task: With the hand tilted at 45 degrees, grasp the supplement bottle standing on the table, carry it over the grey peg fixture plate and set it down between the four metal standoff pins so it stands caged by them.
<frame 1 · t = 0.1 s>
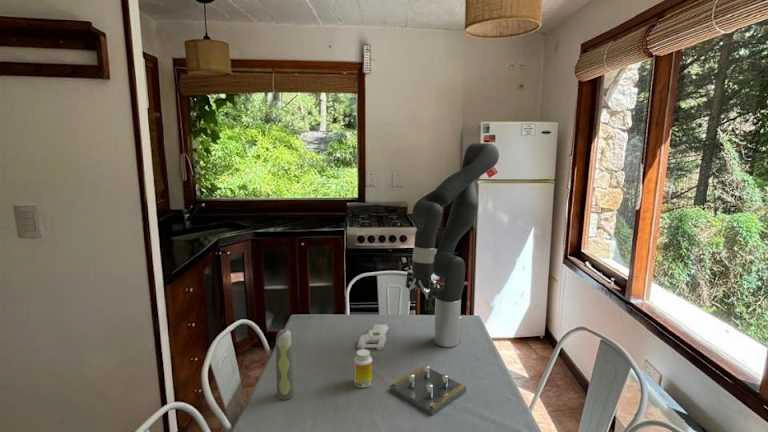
hand: (419, 305, 142), 17 cm above the table, tool pointing down, fingers open, 8 cm apart
tall green-filled container: (285, 396, 119), on the table
supplement bottle: (363, 383, 125), on the table
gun: (373, 341, 153), on the table
grey peg fixture plate: (427, 390, 122), on the table
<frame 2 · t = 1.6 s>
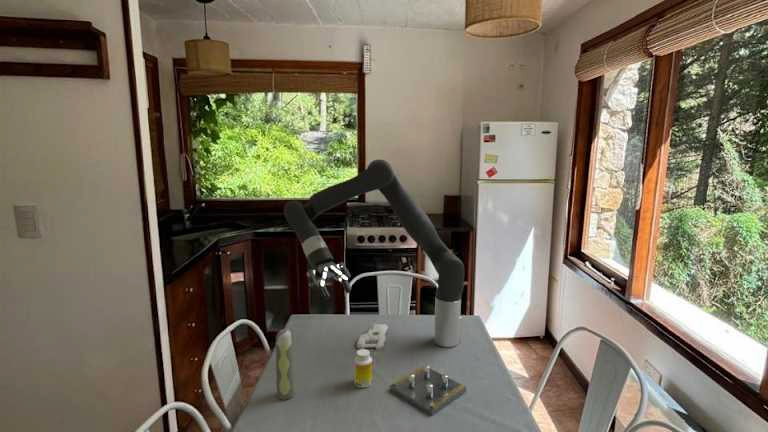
hand: (338, 295, 129), 25 cm above the table, tool tilted 45°, fingers open, 8 cm apart
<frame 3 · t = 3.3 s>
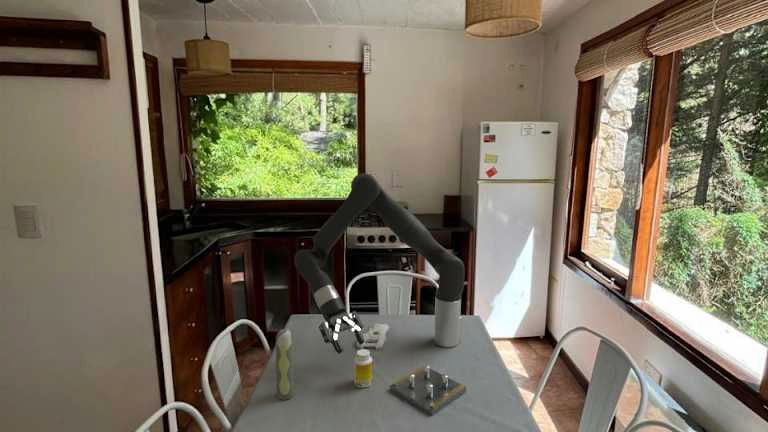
hand: (352, 347, 127), 10 cm above the table, tool tilted 45°, fingers open, 8 cm apart
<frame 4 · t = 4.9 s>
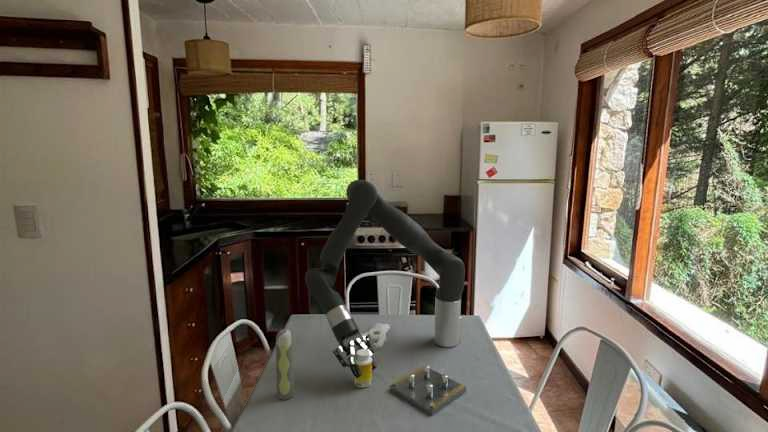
hand: (367, 372, 123), 4 cm above the table, tool tilted 45°, fingers closed on supplement bottle, 5 cm apart
supplement bottle: (363, 383, 125), on the table, touching gripper
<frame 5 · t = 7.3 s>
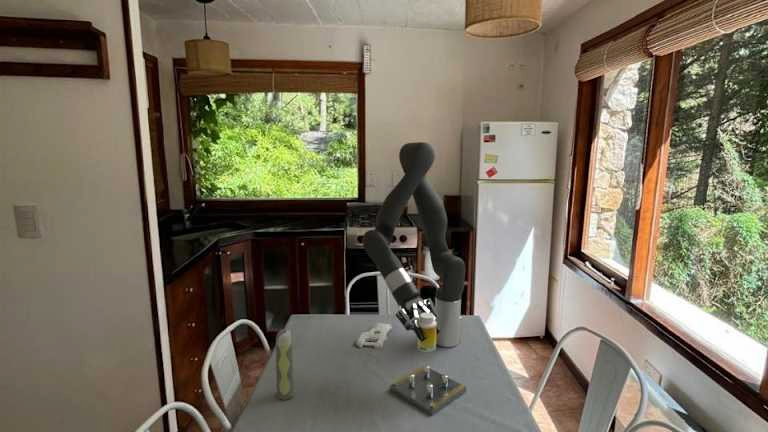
hand: (431, 336, 118), 18 cm above the table, tool tilted 45°, fingers closed on supplement bottle, 5 cm apart
supplement bottle: (426, 348, 120), point 13 cm above the table, touching gripper
when the fingers open (7 cm above the table, at t = 10.0 s): supplement bottle drops 1 cm, resting on grey peg fixture plate.
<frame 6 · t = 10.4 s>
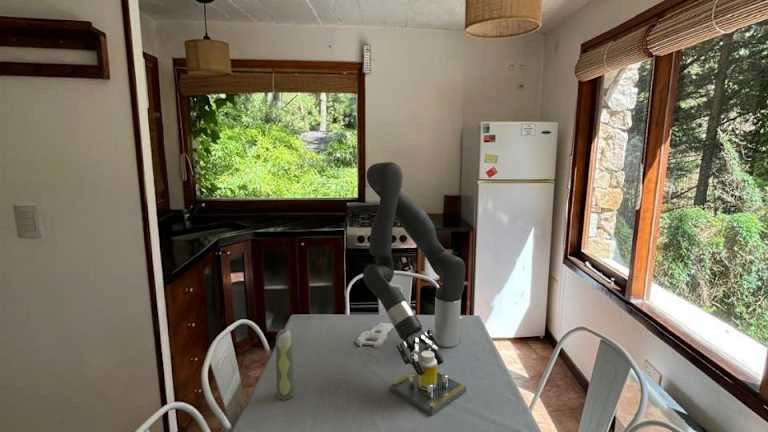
hand: (432, 368, 119), 8 cm above the table, tool tilted 45°, fingers open, 8 cm apart
supplement bottle: (427, 386, 121), point 1 cm above the table, touching grey peg fixture plate
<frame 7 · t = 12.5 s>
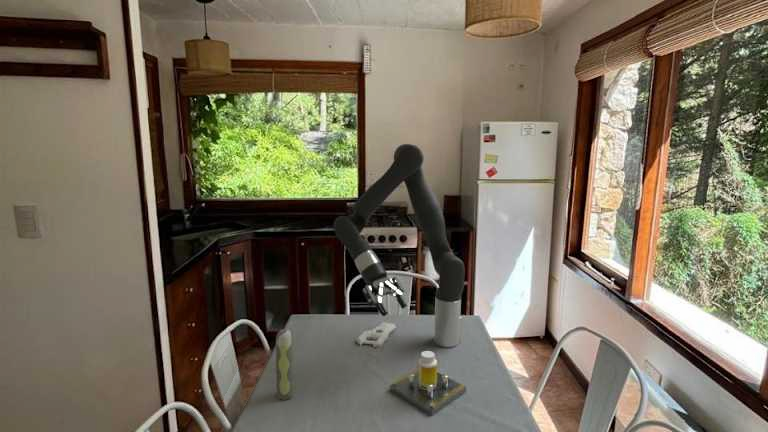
hand: (395, 310, 128), 21 cm above the table, tool tilted 45°, fingers open, 8 cm apart
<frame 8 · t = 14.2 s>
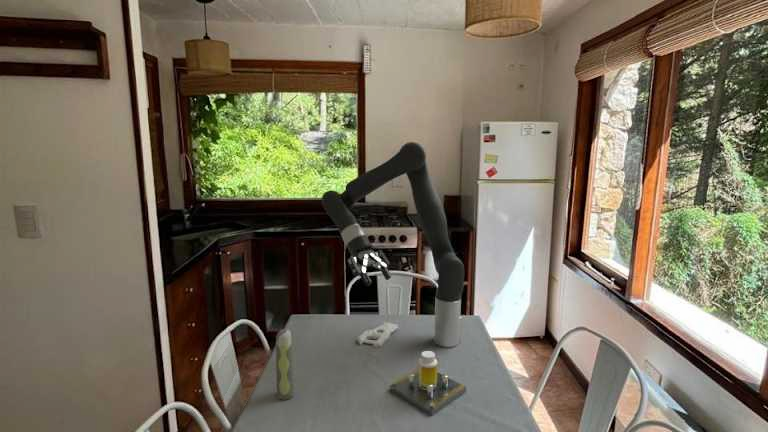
hand: (379, 281, 132), 29 cm above the table, tool tilted 45°, fingers open, 8 cm apart
at the end: supplement bottle 0.3 cm off-centre on the grey peg fixture plate, point 1.3 cm above the grey peg fixture plate's base; supplement bottle tilted 0°; the gripper is holding nothing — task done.
